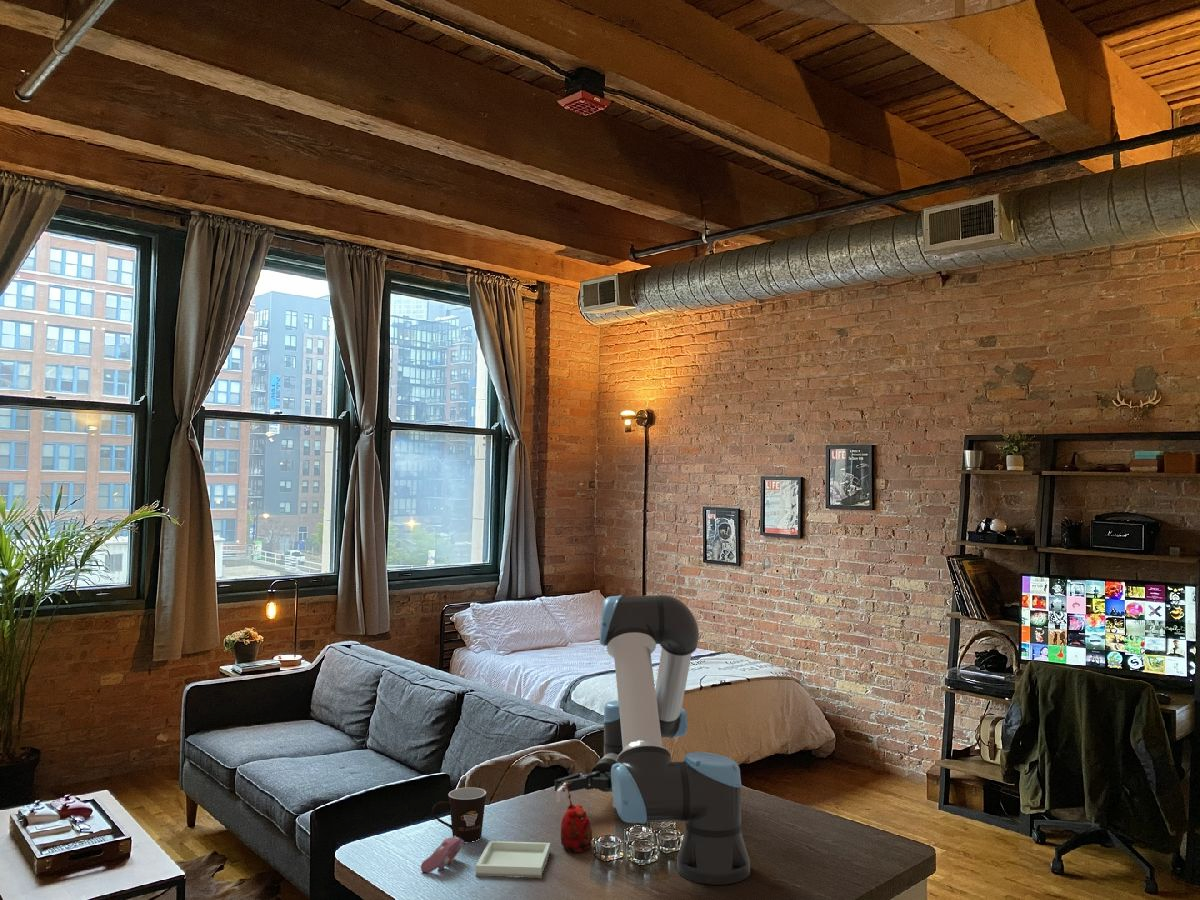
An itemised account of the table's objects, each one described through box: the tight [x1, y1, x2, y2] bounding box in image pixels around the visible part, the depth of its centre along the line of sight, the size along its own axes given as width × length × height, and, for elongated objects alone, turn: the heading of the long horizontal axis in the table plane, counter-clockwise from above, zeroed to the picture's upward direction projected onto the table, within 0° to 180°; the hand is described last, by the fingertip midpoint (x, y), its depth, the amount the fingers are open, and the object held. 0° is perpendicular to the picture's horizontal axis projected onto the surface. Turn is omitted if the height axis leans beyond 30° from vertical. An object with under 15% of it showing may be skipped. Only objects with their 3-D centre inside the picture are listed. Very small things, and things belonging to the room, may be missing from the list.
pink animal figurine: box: [420, 836, 465, 874], centre depth 189 cm, size 10×5×7 cm, turn 160°
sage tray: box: [475, 840, 552, 878], centre depth 190 cm, size 14×14×2 cm
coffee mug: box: [431, 787, 487, 843], centre depth 205 cm, size 12×9×10 cm
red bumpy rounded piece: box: [560, 779, 594, 854], centre depth 199 cm, size 8×7×15 cm
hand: (586, 799), depth 208 cm, fingers open, 13 cm apart
